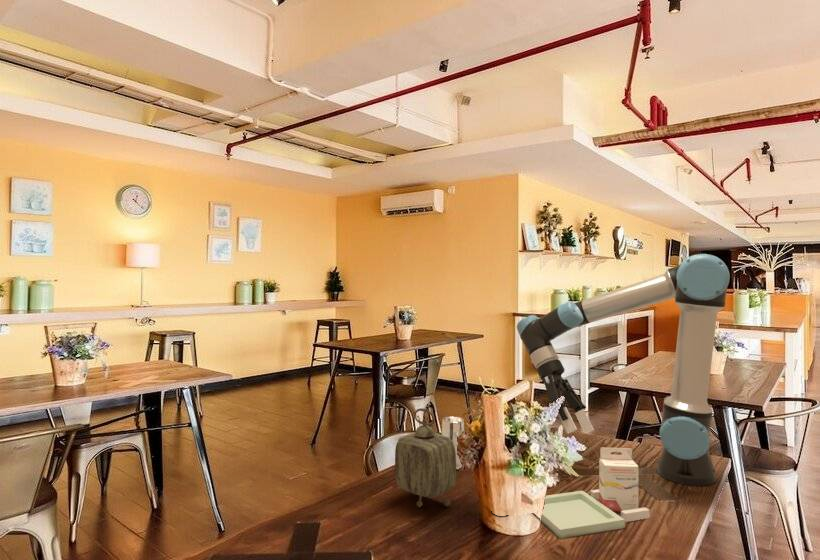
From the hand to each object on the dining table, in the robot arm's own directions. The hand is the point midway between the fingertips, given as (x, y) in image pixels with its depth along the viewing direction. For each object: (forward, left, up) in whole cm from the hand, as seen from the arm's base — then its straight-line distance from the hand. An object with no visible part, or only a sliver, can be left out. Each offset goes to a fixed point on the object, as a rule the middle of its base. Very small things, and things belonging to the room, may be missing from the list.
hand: (581, 432), depth 145 cm
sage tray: (+12, +14, -16) cm, 24 cm away
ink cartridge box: (-2, +13, -16) cm, 21 cm away
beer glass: (+29, -25, -16) cm, 41 cm away
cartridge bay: (-2, +13, -16) cm, 21 cm away
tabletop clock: (+45, -3, -16) cm, 48 cm away
